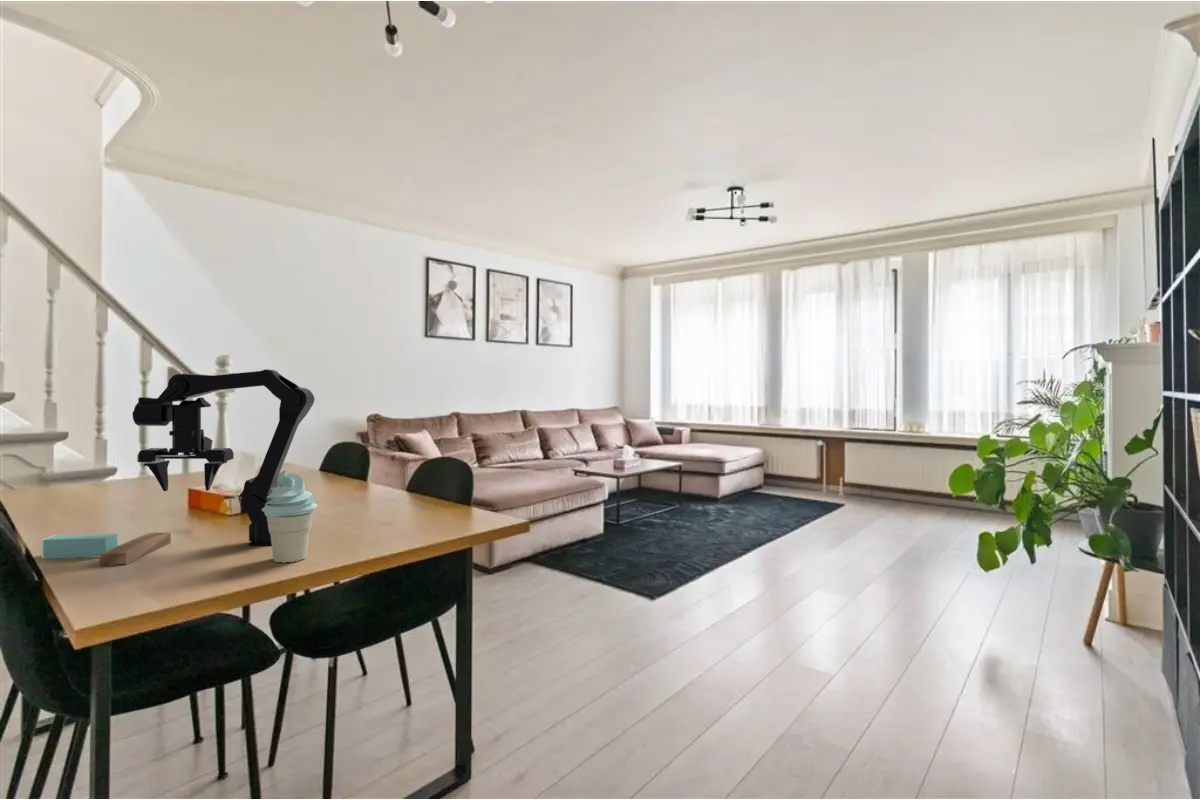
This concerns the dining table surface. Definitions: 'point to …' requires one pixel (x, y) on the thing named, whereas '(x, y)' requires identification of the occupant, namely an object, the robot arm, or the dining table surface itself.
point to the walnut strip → (135, 548)
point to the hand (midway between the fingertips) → (186, 490)
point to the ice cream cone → (289, 518)
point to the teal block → (77, 545)
